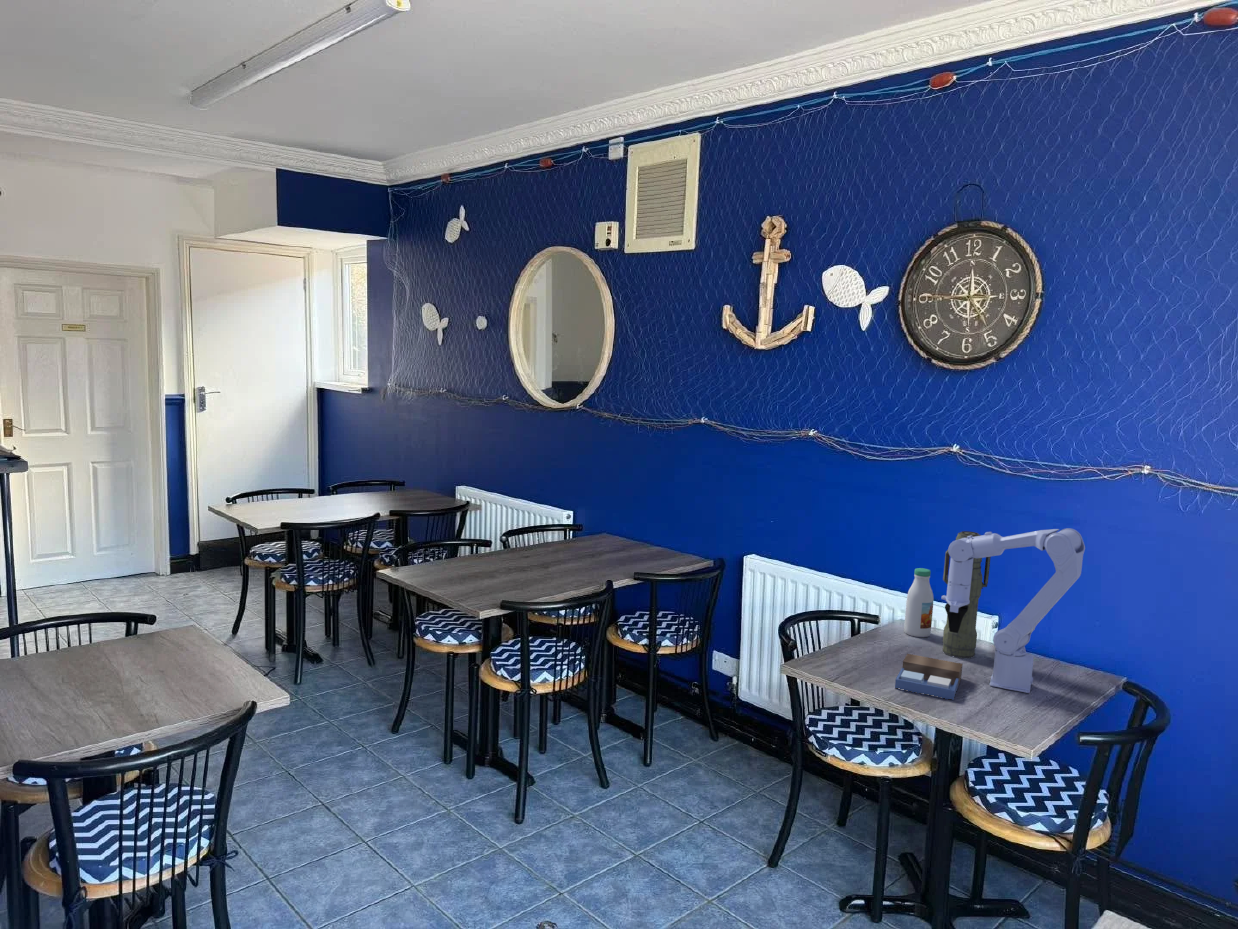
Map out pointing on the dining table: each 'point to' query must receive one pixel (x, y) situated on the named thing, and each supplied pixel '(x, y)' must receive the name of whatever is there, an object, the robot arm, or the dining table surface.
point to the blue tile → (912, 676)
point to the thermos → (967, 635)
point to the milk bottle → (919, 605)
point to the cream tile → (939, 682)
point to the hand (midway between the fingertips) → (953, 631)
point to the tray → (926, 687)
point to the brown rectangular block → (933, 667)
